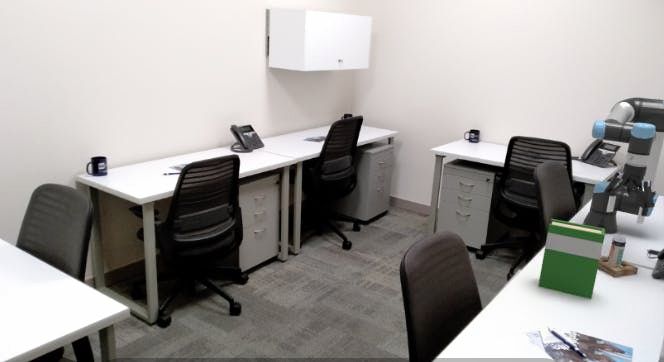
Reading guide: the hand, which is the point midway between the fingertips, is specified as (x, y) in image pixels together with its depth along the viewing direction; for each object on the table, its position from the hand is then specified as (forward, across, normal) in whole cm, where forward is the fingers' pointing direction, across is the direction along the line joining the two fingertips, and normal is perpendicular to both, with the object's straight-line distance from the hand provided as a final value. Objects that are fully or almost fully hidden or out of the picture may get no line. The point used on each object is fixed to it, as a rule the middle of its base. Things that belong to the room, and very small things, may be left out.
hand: (624, 217), depth 205 cm
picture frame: (+22, 0, 0) cm, 22 cm away
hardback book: (+22, +8, -33) cm, 41 cm away
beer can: (+21, 0, 0) cm, 21 cm away
